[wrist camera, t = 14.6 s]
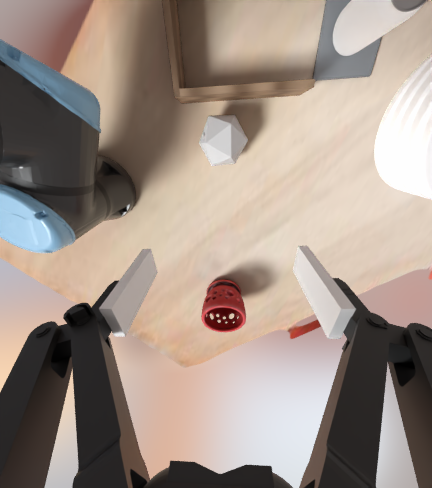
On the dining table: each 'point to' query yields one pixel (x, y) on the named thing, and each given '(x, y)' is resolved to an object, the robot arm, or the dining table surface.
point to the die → (222, 139)
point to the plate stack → (408, 135)
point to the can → (369, 22)
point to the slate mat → (330, 60)
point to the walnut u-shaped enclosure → (218, 91)
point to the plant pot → (223, 306)
